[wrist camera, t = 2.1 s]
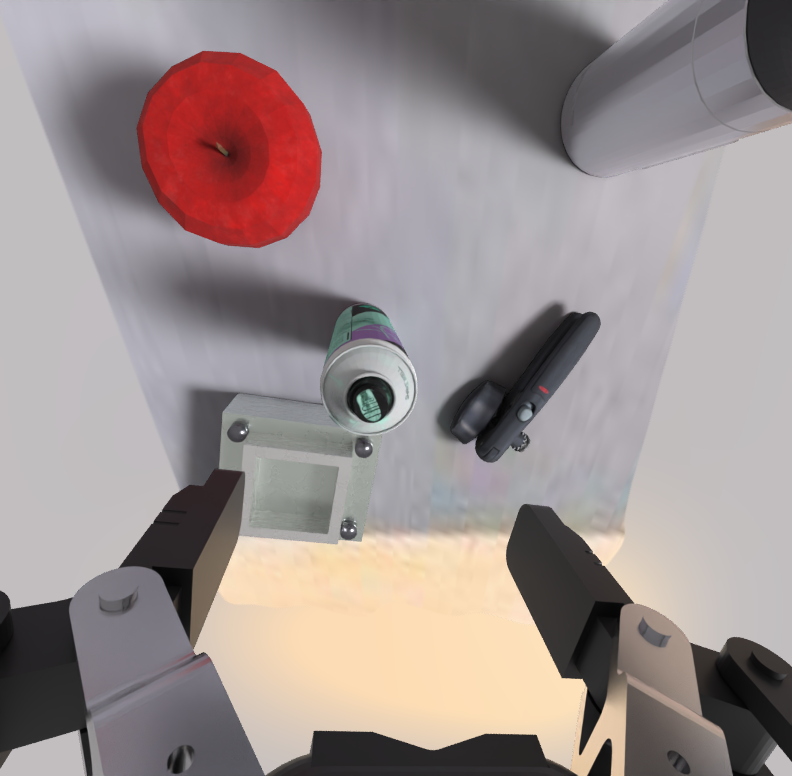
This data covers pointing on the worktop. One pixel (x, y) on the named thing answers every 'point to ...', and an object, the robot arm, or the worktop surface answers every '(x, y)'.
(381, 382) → the spray can
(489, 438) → the can opener
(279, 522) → the grey square holder
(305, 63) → the worktop surface
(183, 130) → the apple
